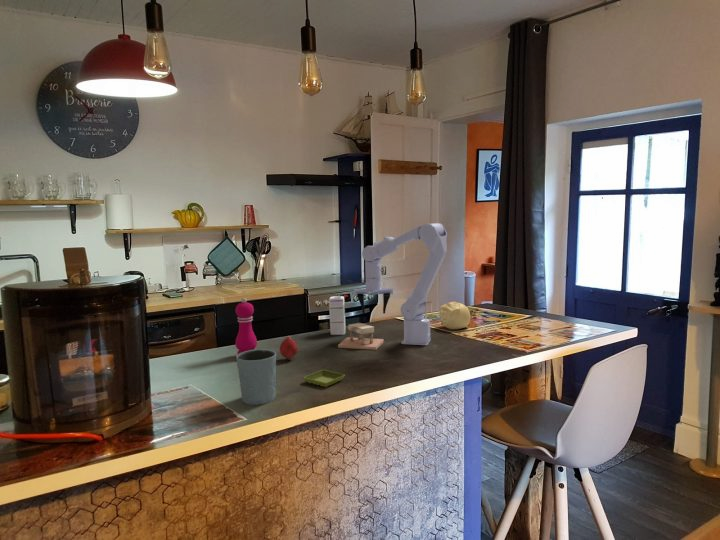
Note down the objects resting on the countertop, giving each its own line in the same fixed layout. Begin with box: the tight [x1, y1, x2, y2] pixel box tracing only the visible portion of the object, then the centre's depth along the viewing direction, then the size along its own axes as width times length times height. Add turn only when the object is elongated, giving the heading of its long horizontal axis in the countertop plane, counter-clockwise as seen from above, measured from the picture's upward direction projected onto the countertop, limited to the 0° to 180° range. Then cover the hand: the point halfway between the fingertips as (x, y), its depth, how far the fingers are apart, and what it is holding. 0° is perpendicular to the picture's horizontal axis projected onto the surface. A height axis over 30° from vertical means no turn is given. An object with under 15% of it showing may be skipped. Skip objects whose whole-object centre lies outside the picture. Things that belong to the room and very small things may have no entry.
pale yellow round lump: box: [439, 301, 471, 330], centre depth 210 cm, size 11×12×11 cm
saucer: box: [303, 369, 346, 388], centre depth 148 cm, size 9×9×2 cm
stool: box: [347, 322, 375, 345], centre depth 187 cm, size 9×5×6 cm, turn 35°
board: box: [337, 336, 385, 351], centre depth 188 cm, size 14×11×1 cm
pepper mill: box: [235, 297, 258, 356], centre depth 175 cm, size 7×7×20 cm
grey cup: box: [235, 348, 277, 406], centre depth 135 cm, size 10×10×12 cm
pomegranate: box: [279, 335, 299, 361], centre depth 171 cm, size 6×6×8 cm
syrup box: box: [328, 295, 347, 336], centre depth 205 cm, size 6×6×14 cm
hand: (373, 313), depth 197 cm, fingers open, 7 cm apart
